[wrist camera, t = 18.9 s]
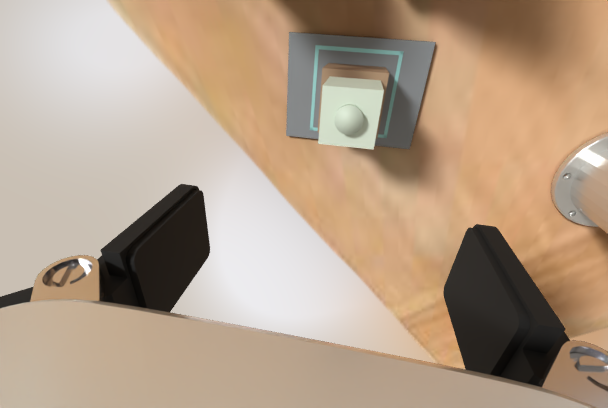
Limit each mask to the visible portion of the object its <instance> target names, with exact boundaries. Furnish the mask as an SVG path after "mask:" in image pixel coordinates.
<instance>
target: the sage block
mask: <svg viewBox="0 0 608 408" xmlns="http://www.w3.org/2000/svg"><path fill="white" fill-rule="evenodd" d="M383 93H384V89H383V86H382V83H381V80H369V79H356V78H343V77H329V78H328V79H327V81H326V82H325V83H324V84H323V88H322V101H321V114H320V127H319V140H318V144H326V145H335V146H345V147H354V148H364V149H373V150H374V145H375V139H376V133H377V128H378V122H379V116H380V110H381V105H382V99H383Z"/></svg>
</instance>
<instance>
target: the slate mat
mask: <svg viewBox="0 0 608 408" xmlns="http://www.w3.org/2000/svg"><path fill="white" fill-rule="evenodd" d="M435 43H436V42H427V41H412V40H397V39H383V38H368V37H354V36H339V35H324V34H310V33H295V32H289V60H288V95H287V130H286V136H294V137H303V138H312V139H319V133H318V132H317V131H318V118H319V105H320V93H321V80H322V68H323V67H324V66H325V65H327V64H328V63H338V64H351V65H364V66H378V67H386V69H387V70H388V72H389V77H388V83H387V88H386V94H385V99H384V105H383V110H382V116H381V122H380V127H379V133H378V138H377V139H375V146H384V147H393V148H402V149H410V146H411V141H412V137H413V133H414V129H415V125H416V121H417V117H418V113H419V109H420V104H421V100H422V96H423V92H424V88H425V84H426V80H427V76H428V72H429V67H430V63H431V59H432V55H433V51H434V47H435Z"/></svg>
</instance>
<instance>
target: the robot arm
mask: <svg viewBox="0 0 608 408" xmlns="http://www.w3.org/2000/svg"><path fill="white" fill-rule="evenodd" d="M551 195H552V200H553V203H554V205H555V207H556V208H557V209H558V210H559V211H560V213H561V214H563V215H564V216H565V217H566V218H567V219H569V220H571V221H573V222H575V223H578V224H581V225H584V226H592V227H600V228H601V229H602V230H604V231H605V232H606V233H607V234H608V132H607V133H605V134H602V135H599V136H597V137H595V138H593V139H591V140H589V141H587V142H586V143H585V144H583V145H582V146H580V147H579V148H577V149H576V150H575V151H574V152H573V153H571V154H570V155H569V156H568V157H567V158H566V159H565V161H564V162H563V163H562V164H561V165H560V167H559V169H558V170H557V172H556V174H555V176H554V179H553V182H552V187H551ZM209 245H210V244H209V236H208V229H207V221H206V213H205V205H204V196H203V192H202V191H200V190H199V188H198V187H197V186H192V185H185V184H181V185H179V186H178V187H176V188H175V189H174V190H173V191H172V192H170V193H169V194H168V195H167V196H165V197H164V198H163V199H162V200H161V201H159V202H158V203H157V204H156V205H154V206H153V207H152V208H151V209H150V210H148V211H147V212H146V213H145V214H144V215H142V216H141V217H140V218H139V219H137V220H136V221H135V222H134V223H133V224H131V225H130V226H129V227H128V228H127V229H125V230H124V231H123V232H122V233H120V234H119V235H118V236H117V237H116V238H114V239H113V240H112V241H111V242H110V243H108V244H107V245H106V246H105V247H104V248H102V249H101V252H102V256H101V257H100V258H99V259H95V258H94V257H92V256H88V255H78V256H71V257H67V258H64V259H61V260H59V261H56V262H54V263H52V264H50V265H49V266H47V267H46V268H45V269H43V270H42V271H41V272H40V273H39V274H38V276H37V278H36V280H35V283H34V287H31V288H28V289H25V290H21V291H18V292H15V293H11V294H8V295H5V296H2V297H0V408H608V351H606V350H604V349H602V348H600V347H598V346H596V345H593V344H590V343H587V342H583V341H576V340H573V341H570V340H569V338H568V337H567V335H566V334H565V332H564V330H565V328H564V326H563V325H562V323H561V322H560V320H559V319H558V317H557V316H556V314H555V313H554V311H553V310H552V308H551V307H550V305H549V304H548V302H547V301H546V299H545V298H544V296H543V295H542V294H541V292H540V291H539V289H538V288H537V286H536V285H535V283H534V282H533V280H532V279H531V277H530V276H529V274H528V273H527V271H526V270H525V268H524V267H523V265H522V264H521V262H520V261H519V260H518V258H517V257H516V255H515V254H514V252H513V251H512V249H511V248H510V246H509V245H508V243H507V242H506V240H505V239H504V237H503V236H502V234H501V233H500V231H499V230H498V229H497V228H496V227H493V226H486V225H479V224H476V225H475V226H474V227H473V228H468V229H467V231H466V233H465V236H464V238H463V241H462V244H461V246H460V249H459V251H458V254H457V256H456V259H455V261H454V264H453V266H452V269H451V271H450V274H449V276H448V279H447V281H446V284H445V286H444V298H445V302H446V305H447V308H448V312H449V315H450V318H451V322H452V325H453V328H454V332H455V335H456V338H457V342H458V345H459V348H460V352H461V355H462V358H463V362H464V365H465V368H466V370H465V369H460V368H455V367H450V366H446V365H441V364H436V363H431V362H426V361H421V360H416V359H411V358H405V357H400V356H396V355H390V354H385V353H380V352H375V351H370V350H365V349H360V348H354V347H350V346H345V345H340V344H334V343H329V342H324V341H319V340H314V339H308V338H303V337H298V336H293V335H287V334H282V333H277V332H272V331H267V330H261V329H256V328H251V327H245V326H240V325H235V324H229V323H224V322H219V321H213V320H208V319H202V318H197V317H192V316H186V315H181V314H175V313H170V311H171V310H172V308H173V307H174V305H175V304H176V303H177V301H178V300H179V298H180V297H181V295H182V294H183V292H184V291H185V290H186V288H187V286H188V285H189V284H190V282H191V281H192V279H193V278H194V277H195V275H196V274H197V272H198V271H199V270H200V268H201V267H202V265H203V264H204V262H205V261H206V259H207V258H208V256H209V253H210V246H209Z"/></svg>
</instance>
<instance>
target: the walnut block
mask: <svg viewBox="0 0 608 408" xmlns="http://www.w3.org/2000/svg"><path fill="white" fill-rule="evenodd" d="M329 77H343V78H356V79H369V80H381V83H382V86H383V89H384V93H383V99H382V105H381V110H380V116H379V122H378V128H377V133H376V139H377V138H378V133H379V127H380V122H381V116H382V110H383V105H384V99H385V94H386V88H387V83H388V77H389V72H388V70H387V69H386V67H378V66H364V65H351V64H338V63H328V64H327V65H325V66H324V67H323V68H322V80H321V93H320V105H319V118H318V131H317V132H318V133H319V127H320V114H321V101H322V88H323V84H324V83H325V82H326V81H327V79H328V78H329Z"/></svg>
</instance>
